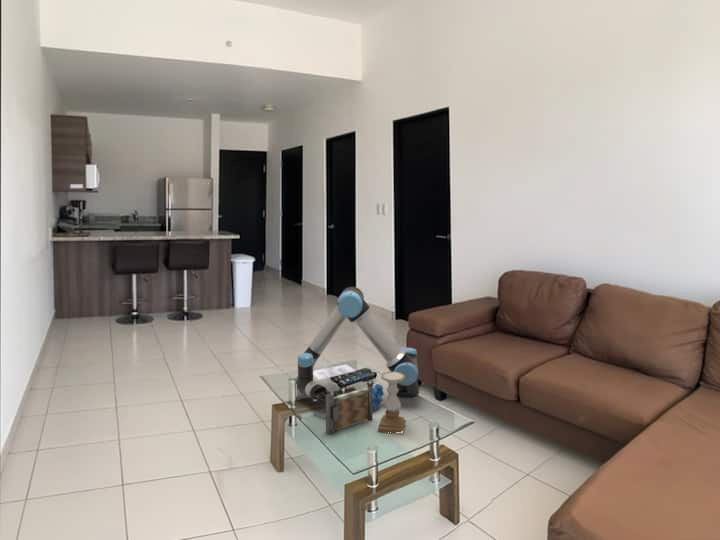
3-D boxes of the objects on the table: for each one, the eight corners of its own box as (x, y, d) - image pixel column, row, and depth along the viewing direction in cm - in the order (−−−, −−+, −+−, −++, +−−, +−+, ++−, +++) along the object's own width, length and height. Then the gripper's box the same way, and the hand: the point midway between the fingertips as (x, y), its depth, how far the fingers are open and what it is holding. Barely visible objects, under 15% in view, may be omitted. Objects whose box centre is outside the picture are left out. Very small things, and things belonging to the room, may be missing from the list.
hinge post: (370, 417, 239) (370, 379, 237) (374, 419, 237) (375, 381, 234) (364, 419, 238) (365, 381, 235) (369, 421, 235) (369, 383, 232)
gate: (365, 418, 237) (365, 387, 235) (368, 419, 235) (368, 389, 233) (331, 429, 226) (331, 397, 224) (334, 430, 224) (334, 399, 222)
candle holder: (403, 434, 223) (404, 381, 219) (377, 432, 225) (378, 379, 221) (406, 423, 234) (407, 372, 230) (381, 421, 236) (382, 370, 232)
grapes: (374, 402, 256) (374, 379, 254) (386, 405, 252) (386, 381, 250) (362, 411, 246) (362, 387, 244) (375, 414, 242) (375, 390, 240)
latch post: (334, 429, 227) (334, 392, 225) (339, 433, 224) (339, 395, 222) (326, 432, 225) (325, 394, 222) (330, 435, 222) (330, 397, 219)
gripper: (327, 395, 255) (356, 412, 237) (304, 402, 247) (332, 420, 229) (327, 381, 254) (356, 396, 235) (304, 387, 246) (332, 404, 228)
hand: (344, 408), depth 232 cm, fingers closed
